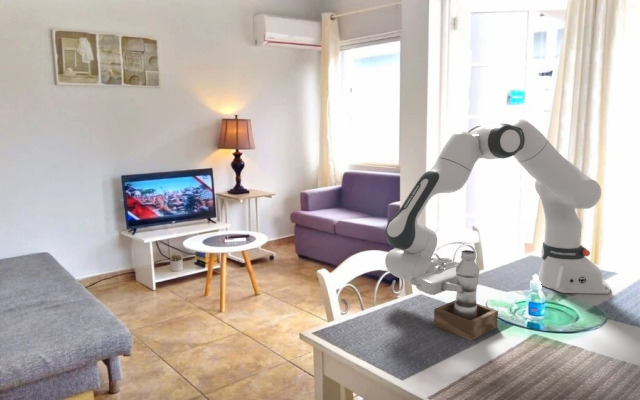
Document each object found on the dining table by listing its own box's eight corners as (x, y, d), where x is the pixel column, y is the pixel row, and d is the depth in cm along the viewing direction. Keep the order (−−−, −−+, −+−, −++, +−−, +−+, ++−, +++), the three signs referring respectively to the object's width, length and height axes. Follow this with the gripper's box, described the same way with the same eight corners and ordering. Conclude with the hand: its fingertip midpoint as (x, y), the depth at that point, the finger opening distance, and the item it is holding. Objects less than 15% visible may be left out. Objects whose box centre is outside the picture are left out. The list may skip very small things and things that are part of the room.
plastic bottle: (474, 315, 145) (477, 248, 141) (479, 325, 138) (482, 256, 134) (451, 314, 145) (454, 248, 141) (455, 324, 139) (458, 255, 135)
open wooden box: (460, 313, 150) (460, 298, 149) (497, 327, 141) (498, 310, 140) (433, 325, 143) (434, 308, 142) (471, 340, 133) (471, 323, 132)
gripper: (406, 270, 143) (446, 284, 132) (451, 256, 155) (490, 267, 144) (406, 291, 144) (445, 306, 133) (450, 275, 156) (489, 288, 146)
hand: (469, 286), depth 139 cm, fingers closed on plastic bottle, 5 cm apart
